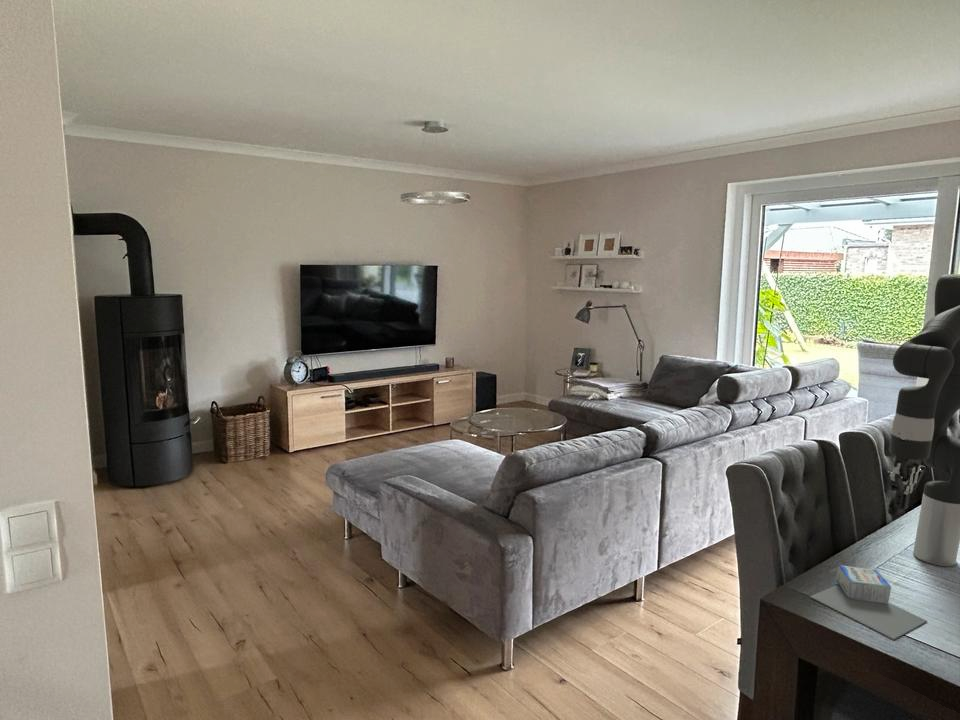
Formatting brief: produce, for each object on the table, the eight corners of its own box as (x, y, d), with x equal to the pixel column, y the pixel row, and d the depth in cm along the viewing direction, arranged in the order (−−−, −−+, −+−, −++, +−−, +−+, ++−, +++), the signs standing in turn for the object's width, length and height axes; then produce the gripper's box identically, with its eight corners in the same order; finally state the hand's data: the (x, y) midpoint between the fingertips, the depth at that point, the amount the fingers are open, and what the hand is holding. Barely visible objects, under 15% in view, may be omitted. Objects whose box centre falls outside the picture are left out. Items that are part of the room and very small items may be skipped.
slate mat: (843, 583, 150) (844, 581, 150) (927, 621, 135) (927, 620, 135) (810, 597, 143) (810, 596, 143) (893, 640, 128) (893, 638, 128)
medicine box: (892, 586, 140) (850, 580, 142) (888, 604, 141) (847, 598, 143) (877, 569, 148) (838, 564, 150) (874, 586, 149) (835, 581, 150)
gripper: (908, 426, 144) (897, 496, 147) (878, 434, 137) (867, 507, 140) (945, 434, 138) (933, 508, 141) (915, 443, 131) (903, 520, 134)
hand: (900, 508), depth 141 cm, fingers closed
